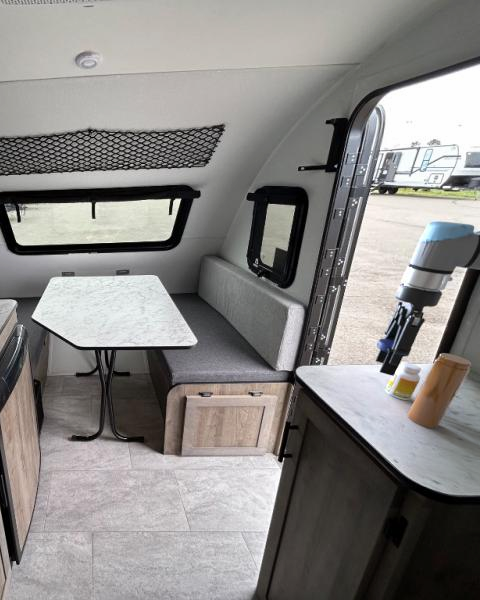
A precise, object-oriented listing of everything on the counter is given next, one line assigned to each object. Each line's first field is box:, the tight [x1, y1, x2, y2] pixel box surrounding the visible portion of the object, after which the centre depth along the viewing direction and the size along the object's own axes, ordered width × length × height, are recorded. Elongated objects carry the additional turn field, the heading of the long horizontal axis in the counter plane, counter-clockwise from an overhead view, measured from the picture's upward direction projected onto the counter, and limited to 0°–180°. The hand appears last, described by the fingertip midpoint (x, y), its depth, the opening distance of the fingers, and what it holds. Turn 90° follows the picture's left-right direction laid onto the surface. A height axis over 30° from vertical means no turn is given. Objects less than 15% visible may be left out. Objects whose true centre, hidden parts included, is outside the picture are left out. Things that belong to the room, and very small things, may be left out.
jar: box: [406, 352, 472, 429], centre depth 80 cm, size 6×6×18 cm
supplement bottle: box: [385, 361, 422, 401], centre depth 92 cm, size 5×5×10 cm
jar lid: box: [376, 338, 412, 358], centre depth 85 cm, size 6×6×2 cm
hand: (384, 367), depth 87 cm, fingers closed on jar lid, 6 cm apart
